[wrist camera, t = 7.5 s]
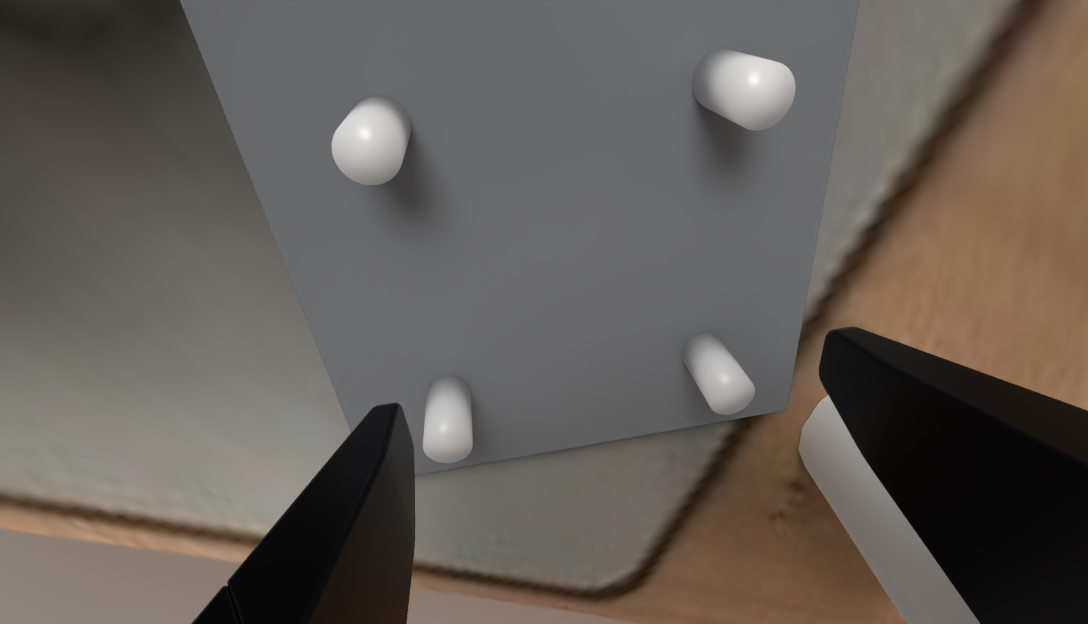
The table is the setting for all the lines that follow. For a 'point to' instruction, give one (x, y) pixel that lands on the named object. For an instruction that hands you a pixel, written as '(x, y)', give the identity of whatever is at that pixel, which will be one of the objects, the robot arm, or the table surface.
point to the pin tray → (540, 203)
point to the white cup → (877, 523)
